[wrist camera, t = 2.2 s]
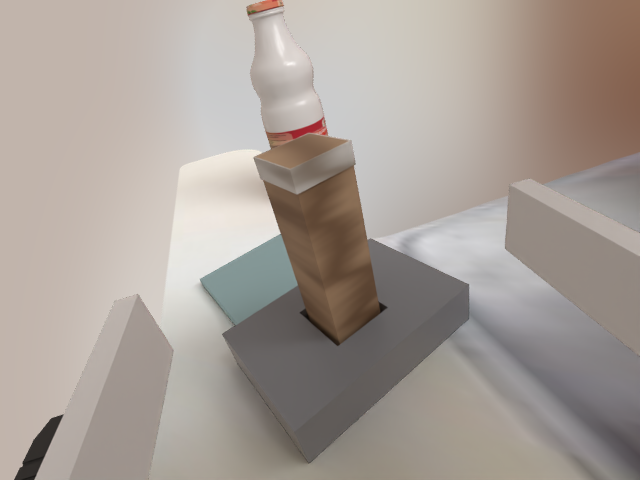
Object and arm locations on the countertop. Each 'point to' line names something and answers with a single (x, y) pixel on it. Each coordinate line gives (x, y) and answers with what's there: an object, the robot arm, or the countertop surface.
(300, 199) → the walnut plug
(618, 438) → the countertop surface
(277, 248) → the pad
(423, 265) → the block
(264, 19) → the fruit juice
